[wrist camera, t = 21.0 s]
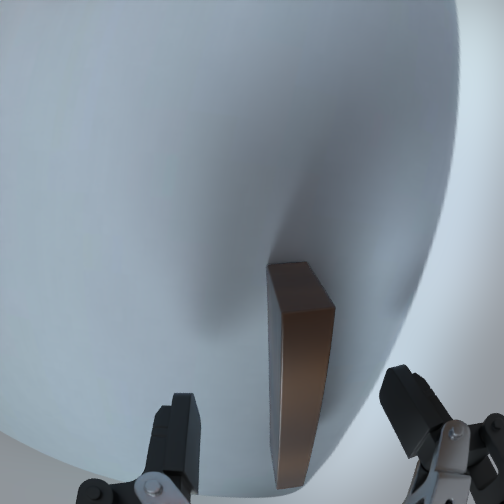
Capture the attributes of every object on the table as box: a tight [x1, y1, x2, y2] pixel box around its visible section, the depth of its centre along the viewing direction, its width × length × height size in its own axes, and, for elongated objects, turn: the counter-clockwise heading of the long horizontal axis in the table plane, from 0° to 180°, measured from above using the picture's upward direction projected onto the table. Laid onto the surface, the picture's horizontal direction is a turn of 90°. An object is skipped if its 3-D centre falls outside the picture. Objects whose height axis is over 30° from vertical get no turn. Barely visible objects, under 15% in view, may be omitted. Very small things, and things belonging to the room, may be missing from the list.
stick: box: [266, 262, 335, 490], centre depth 12 cm, size 13×2×4 cm, turn 3°
